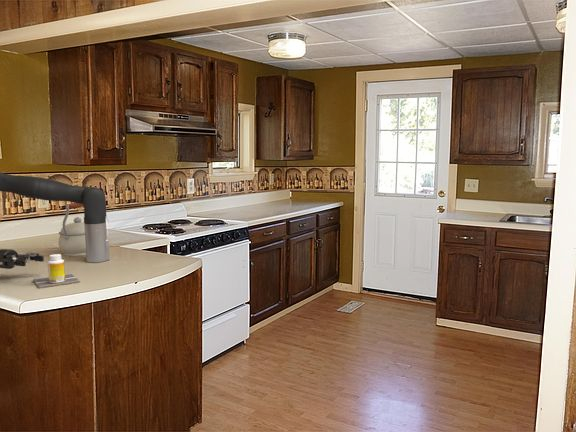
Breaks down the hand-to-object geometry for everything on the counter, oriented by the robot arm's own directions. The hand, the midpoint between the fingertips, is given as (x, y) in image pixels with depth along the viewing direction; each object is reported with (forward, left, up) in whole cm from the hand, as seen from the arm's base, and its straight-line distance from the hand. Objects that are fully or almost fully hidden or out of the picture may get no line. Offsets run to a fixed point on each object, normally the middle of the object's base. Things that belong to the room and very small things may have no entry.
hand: (34, 260), depth 195 cm
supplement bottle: (-6, +9, -8) cm, 13 cm away
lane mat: (-6, +5, -8) cm, 11 cm away
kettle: (-28, -50, -8) cm, 58 cm away
